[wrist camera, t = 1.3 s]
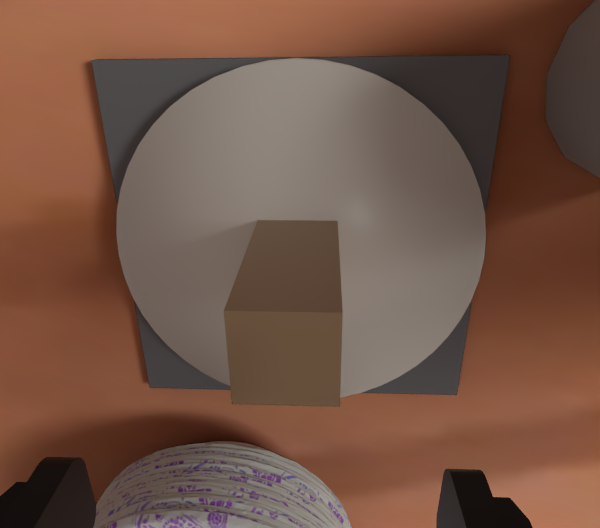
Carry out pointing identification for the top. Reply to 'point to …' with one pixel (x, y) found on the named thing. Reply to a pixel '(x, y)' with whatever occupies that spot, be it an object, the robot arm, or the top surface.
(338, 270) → the lid
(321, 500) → the paper bowls
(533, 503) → the top surface
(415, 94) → the mat
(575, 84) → the cup
